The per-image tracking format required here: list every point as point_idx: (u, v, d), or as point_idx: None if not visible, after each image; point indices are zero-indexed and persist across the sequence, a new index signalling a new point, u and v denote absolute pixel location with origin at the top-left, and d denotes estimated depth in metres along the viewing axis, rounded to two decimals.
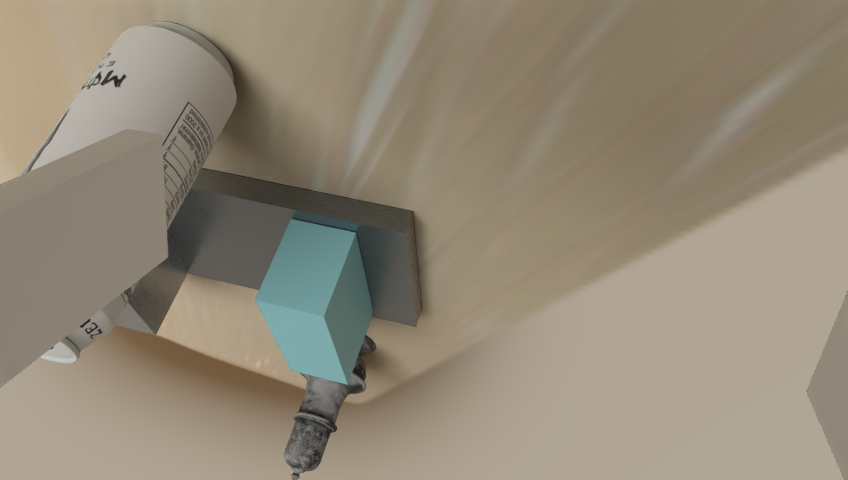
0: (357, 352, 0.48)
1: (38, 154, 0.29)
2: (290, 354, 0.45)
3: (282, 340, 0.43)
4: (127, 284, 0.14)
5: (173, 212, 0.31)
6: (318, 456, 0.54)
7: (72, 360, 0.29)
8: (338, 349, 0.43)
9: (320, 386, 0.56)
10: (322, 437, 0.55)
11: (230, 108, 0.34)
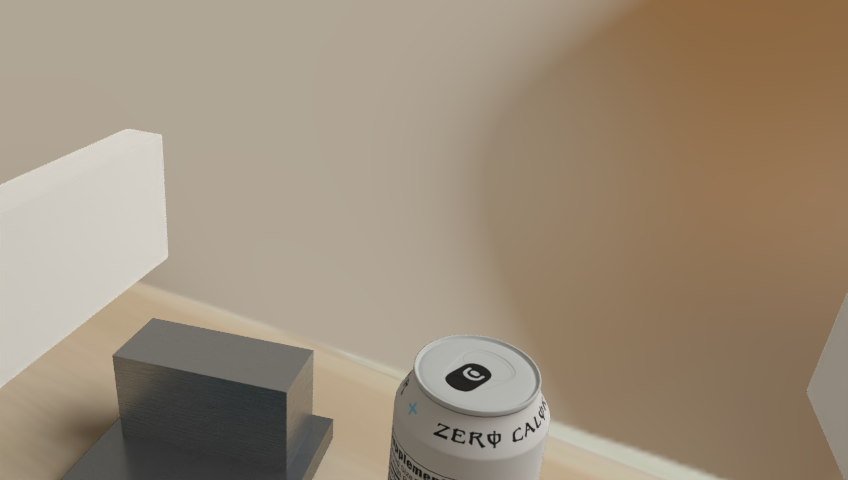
0: None
1: None
2: None
3: None
4: (127, 284, 0.14)
5: None
6: None
7: (425, 387, 0.26)
8: None
9: None
10: None
11: None
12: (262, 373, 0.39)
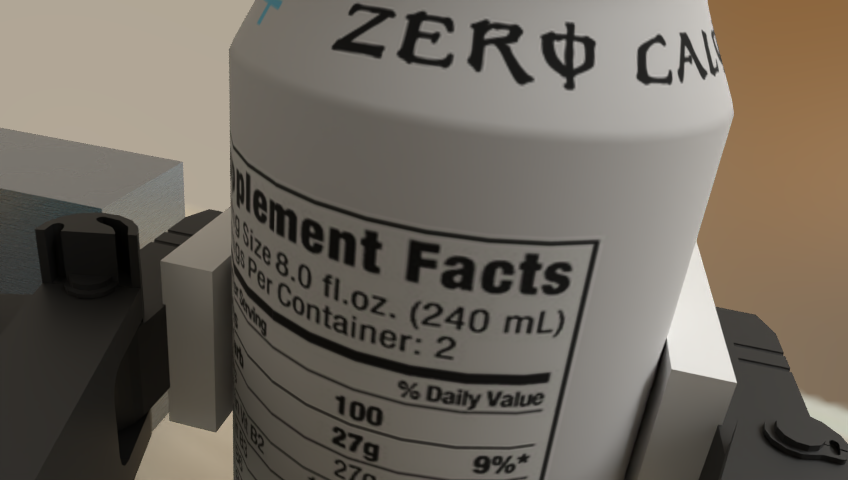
0: None
1: None
2: None
3: None
4: None
5: None
6: None
7: None
8: None
9: None
10: None
11: None
12: (66, 182, 0.20)
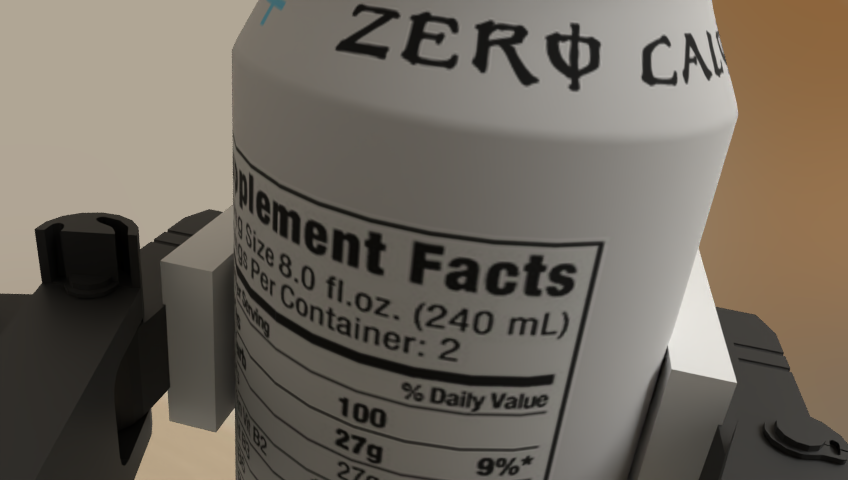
0: None
1: None
2: None
3: None
4: None
5: None
6: None
7: None
8: None
9: None
10: None
11: None
12: None
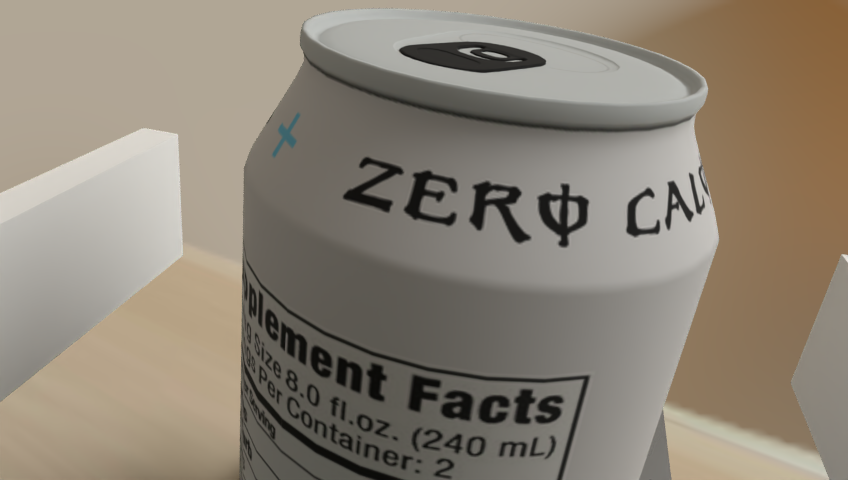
0: None
1: None
2: None
3: None
4: (144, 282, 0.14)
5: None
6: None
7: None
8: None
9: None
10: None
11: None
12: None
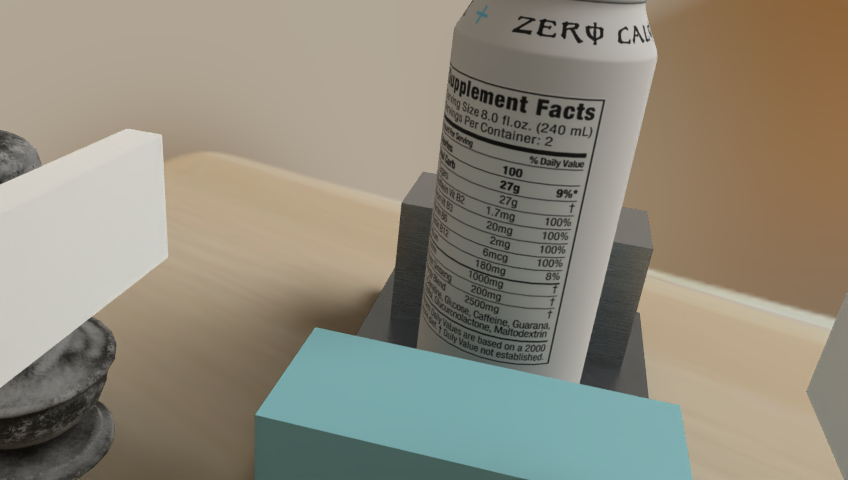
0: None
1: None
2: (412, 361, 0.19)
3: (488, 375, 0.19)
4: (127, 284, 0.14)
5: (486, 237, 0.21)
6: None
7: None
8: (466, 475, 0.16)
9: None
10: None
11: None
12: None
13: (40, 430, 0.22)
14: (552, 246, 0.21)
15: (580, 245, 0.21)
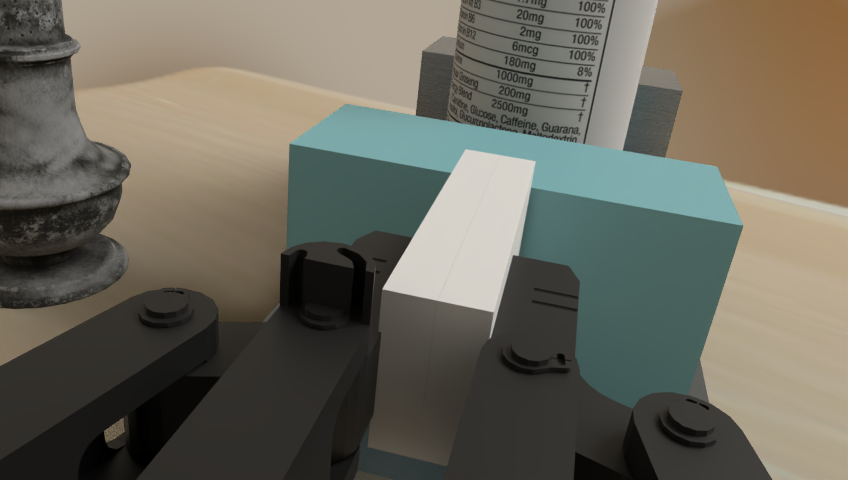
0: (302, 231, 0.17)
1: None
2: (444, 126, 0.19)
3: (522, 139, 0.19)
4: None
5: (516, 28, 0.21)
6: None
7: None
8: None
9: (71, 131, 0.22)
10: None
11: None
12: None
13: (52, 232, 0.21)
14: (585, 35, 0.20)
15: (614, 37, 0.21)
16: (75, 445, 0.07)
